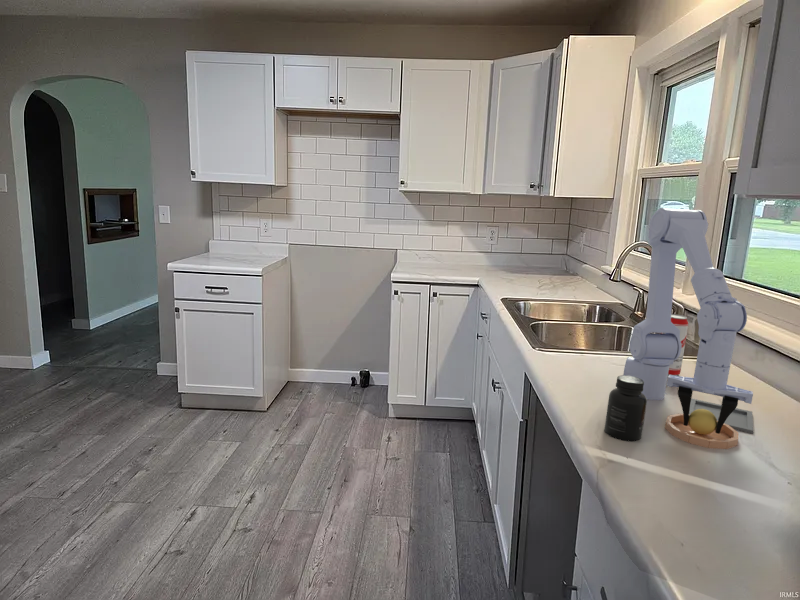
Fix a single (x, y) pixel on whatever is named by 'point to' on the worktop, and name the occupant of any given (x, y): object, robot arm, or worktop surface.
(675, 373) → the beer can
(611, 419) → the supplement bottle
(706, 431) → the ball
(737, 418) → the tray
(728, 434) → the bowl
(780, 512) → the worktop surface
